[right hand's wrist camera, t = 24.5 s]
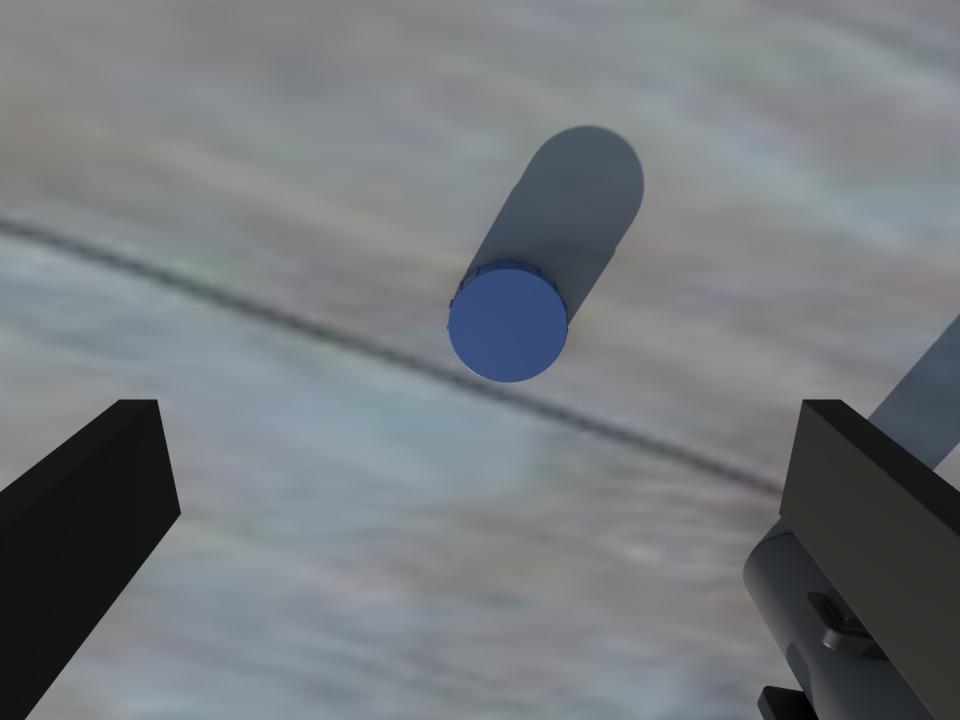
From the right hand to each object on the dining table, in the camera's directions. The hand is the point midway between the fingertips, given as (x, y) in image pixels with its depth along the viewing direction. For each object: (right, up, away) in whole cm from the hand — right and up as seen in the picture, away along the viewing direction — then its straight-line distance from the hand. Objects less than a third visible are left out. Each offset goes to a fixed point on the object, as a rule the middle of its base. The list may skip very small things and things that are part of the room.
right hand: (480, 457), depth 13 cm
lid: (+1, +3, +11) cm, 12 cm away
